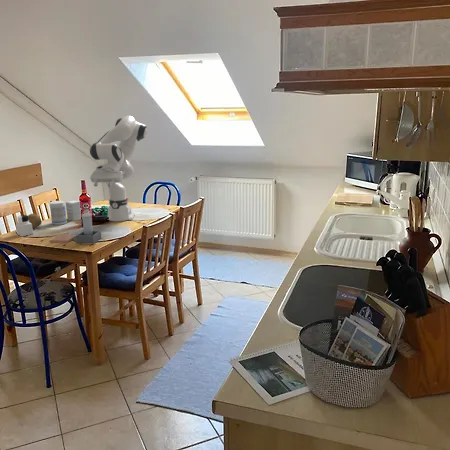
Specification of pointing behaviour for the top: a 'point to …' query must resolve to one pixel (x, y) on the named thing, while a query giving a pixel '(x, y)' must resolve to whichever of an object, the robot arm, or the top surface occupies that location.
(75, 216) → the supplement box
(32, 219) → the natural sponge
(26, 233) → the medicine bottle
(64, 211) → the supplement tub
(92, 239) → the parts tub
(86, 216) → the canister
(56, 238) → the terracotta tile
